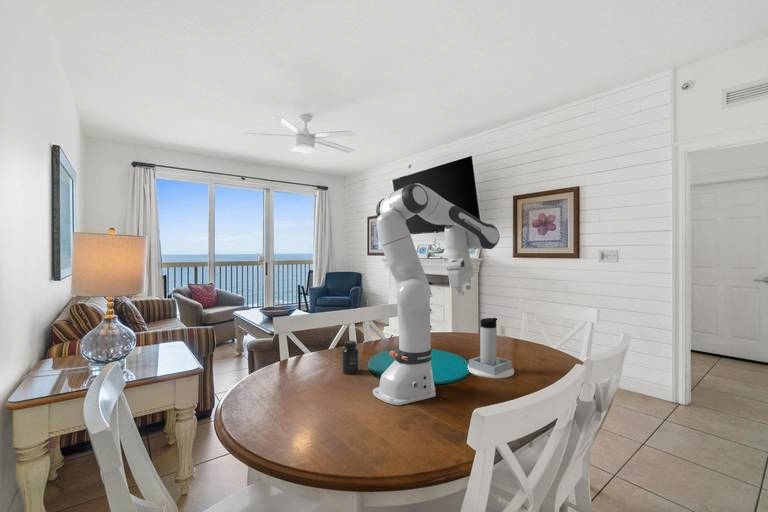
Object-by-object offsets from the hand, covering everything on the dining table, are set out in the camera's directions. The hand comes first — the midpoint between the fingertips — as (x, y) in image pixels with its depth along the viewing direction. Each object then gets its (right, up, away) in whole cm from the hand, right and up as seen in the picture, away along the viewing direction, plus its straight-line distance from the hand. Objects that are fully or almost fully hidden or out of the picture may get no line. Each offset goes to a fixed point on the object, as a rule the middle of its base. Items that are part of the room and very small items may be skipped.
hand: (465, 292), depth 151 cm
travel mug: (+8, -30, -7) cm, 32 cm away
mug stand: (+8, -31, -7) cm, 33 cm away
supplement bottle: (-48, -31, -8) cm, 58 cm away
